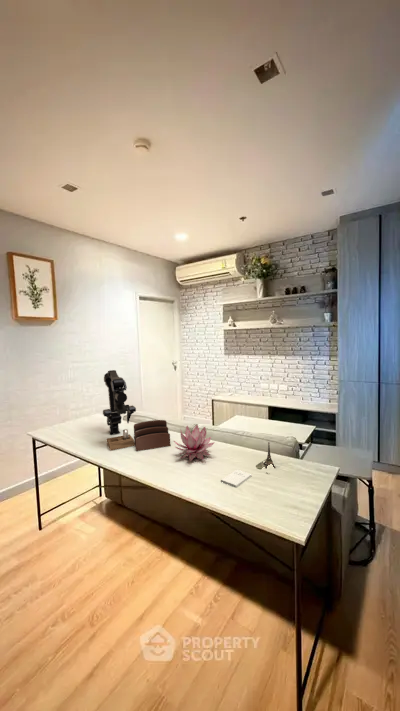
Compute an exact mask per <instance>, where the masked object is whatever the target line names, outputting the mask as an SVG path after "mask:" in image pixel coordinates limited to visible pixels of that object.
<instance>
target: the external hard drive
mask: <svg viewBox="0 0 400 711" xmlns="http://www.w3.org/2000/svg"><path fill="white" fill-rule="evenodd" d="M251 477H252V474H251V473H250V472H246V471H244V470H243V471H242V470H240V469H235V470H233V471H232V472H231V473H229V474H227V475H226V476H225V477H223V478H221V479H220V482H221V483H222V482H223V483H222V484H225V485H227V484H228V485H227V486H230V487H232V488H236V489H237V488H238V487H240V486H242V484H244V483H245V482H246V481H248V480H249V479H250V478H251Z"/></svg>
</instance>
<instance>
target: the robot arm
mask: <svg viewBox="0 0 400 711" xmlns="http://www.w3.org/2000/svg"><path fill="white" fill-rule="evenodd" d="M103 382H104V385H105V386H106V387H107V392H108V402H109V408H105V409H103V410H102V415H103V416H104V417H105V418H106V425H107V426H109V431H108V433H109V435H111V436H112V435H117V434H121V431H120V429H119V427H120V426H119V425H121V423H122V416H121V415H125V414H126V422H127V424H129V423H130V419H131V416H132V415H133V414H134V413H135V412H136V411H137V408H136V407H135V405H133V404H132V405H130V404H125V403H126V401H127V400H128V396H127V393H125V391H127V389H128V388H127V383H126V380H125V379H124V378H123V377H120V376H119V374H118V373H117V370H115V369H114V370H113V369H112V370H111V369H110V370H107V372H106V373H105V374H103Z"/></svg>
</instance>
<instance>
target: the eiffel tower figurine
mask: <svg viewBox="0 0 400 711" xmlns="http://www.w3.org/2000/svg"><path fill="white" fill-rule="evenodd" d="M267 446H268V447H267V457H266V458H265V459H264V460H262V461H261V462H258V464H256V465H255V468H256V470H260V471H261V470H263V469H265V470H267V466H268V465H270V464H272V465H273V467H274V469H277V467H276V465H275V463H273V459H272V455H271V448H270V441H268V444H267ZM274 465H275V466H274ZM263 467H265V468H263ZM262 468H263V469H262ZM268 473H269V472H266V474H267V475H269V474H268Z"/></svg>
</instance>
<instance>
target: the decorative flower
mask: <svg viewBox="0 0 400 711" xmlns="http://www.w3.org/2000/svg"><path fill="white" fill-rule="evenodd" d="M180 430H182V429H181V428H180ZM206 437H207V428H206V426H204V427H202V429H201V430H200V428H199V424H196V425H195V426H194V428H193V430H192V431H191V430H190V428H189V425H186V428H185V434H184V433H183V431H180V439H181V441H182V443H183V445H182V444H180V443H178V442H176V441H175V440H173V442H174V443H175V444H176V445H177V446H178V447H177V446H175V448H176V449H177V450H179V451H183V452H179V454H181V455H182V454H183V456H181V457H180V459H184V458H186V457H187V459H189V462H191V461H193V460H194V458H196V459H197V460H199V459H200V460H204V459H205V458H204V456H211V454H210V453H209V452H207V451H208V449H209V448H211V447H213V445H214V444H215V442H210V441H211V439H212V436H209V437H207V438H206ZM180 447H181V448H180Z"/></svg>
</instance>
